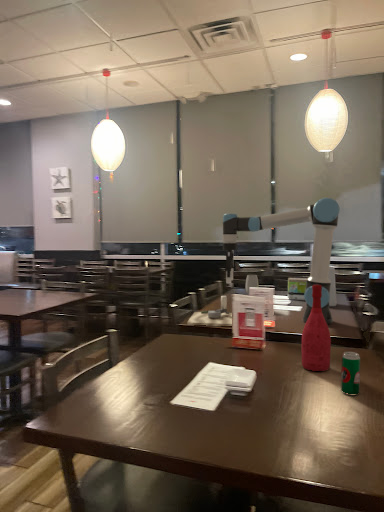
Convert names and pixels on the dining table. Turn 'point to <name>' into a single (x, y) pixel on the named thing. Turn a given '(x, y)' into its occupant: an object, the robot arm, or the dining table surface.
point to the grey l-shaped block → (223, 309)
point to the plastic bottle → (332, 287)
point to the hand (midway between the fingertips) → (229, 281)
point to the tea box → (296, 288)
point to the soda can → (350, 373)
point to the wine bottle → (316, 336)
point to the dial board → (210, 319)
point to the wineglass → (251, 282)
